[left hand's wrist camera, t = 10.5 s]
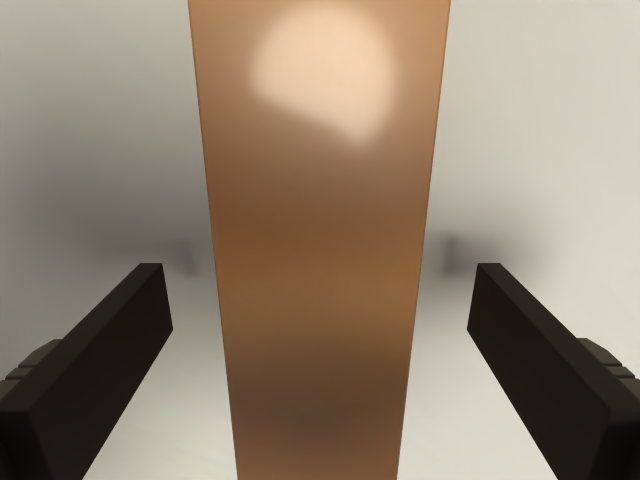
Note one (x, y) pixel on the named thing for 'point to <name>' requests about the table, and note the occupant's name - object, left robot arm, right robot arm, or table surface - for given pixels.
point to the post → (318, 220)
